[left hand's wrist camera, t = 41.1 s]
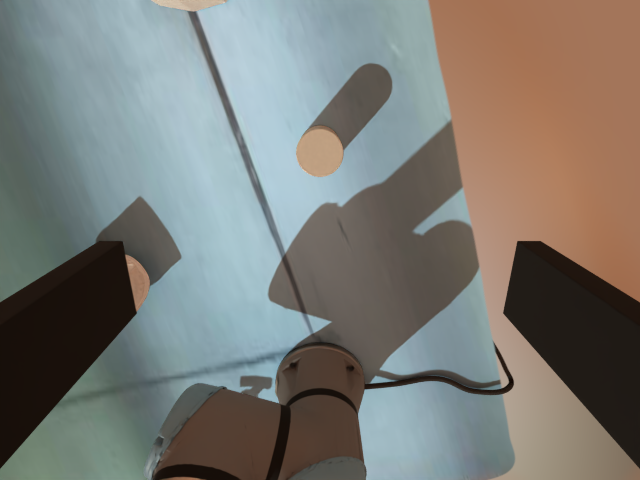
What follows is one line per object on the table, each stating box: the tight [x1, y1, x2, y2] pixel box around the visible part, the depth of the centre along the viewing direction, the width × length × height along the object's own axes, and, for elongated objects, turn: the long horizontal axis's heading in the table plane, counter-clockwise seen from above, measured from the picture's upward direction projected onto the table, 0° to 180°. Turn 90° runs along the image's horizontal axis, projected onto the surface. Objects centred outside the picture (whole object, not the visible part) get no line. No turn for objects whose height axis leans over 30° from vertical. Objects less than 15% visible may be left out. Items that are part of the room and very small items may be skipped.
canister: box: [296, 125, 343, 177], centre depth 47 cm, size 6×6×7 cm
